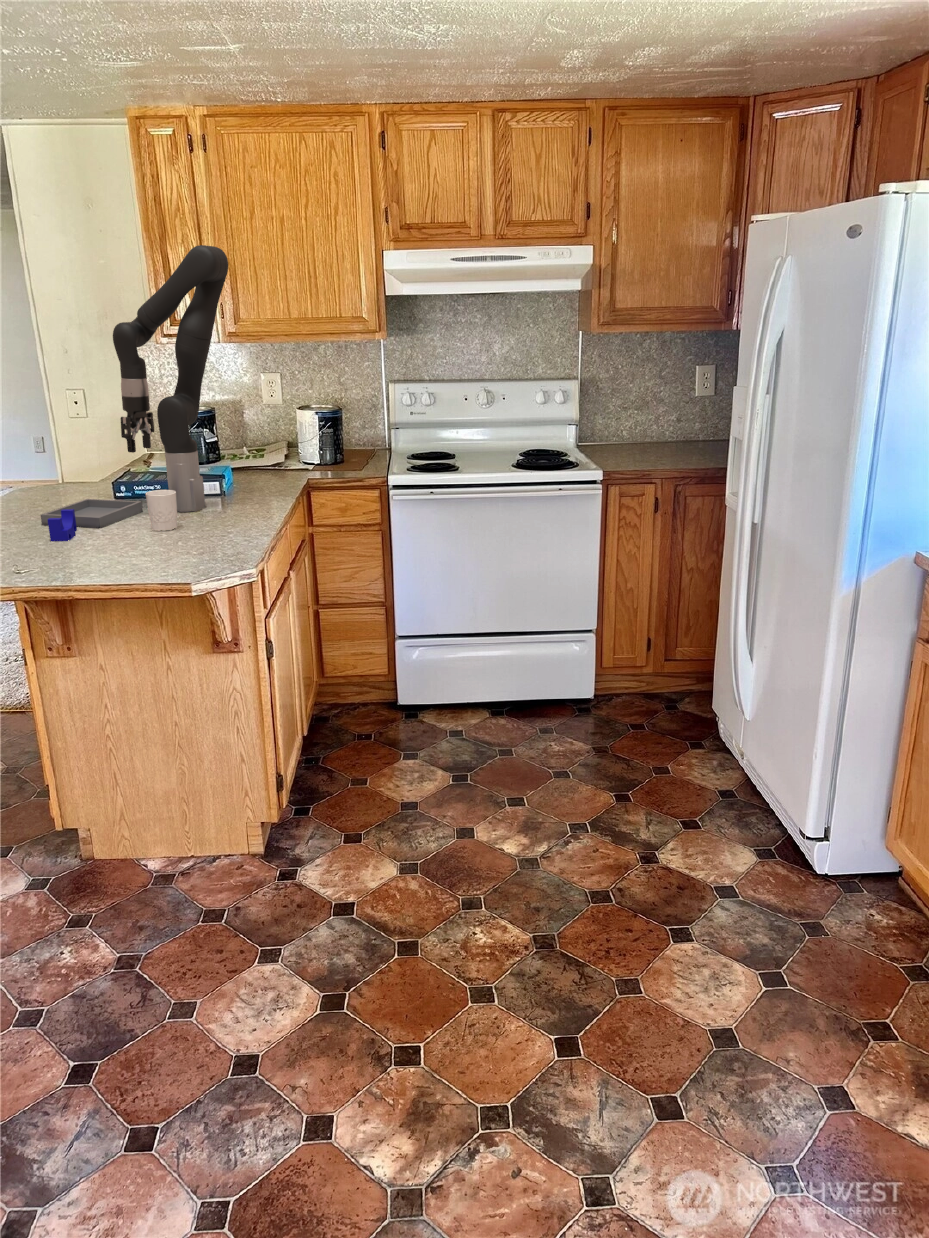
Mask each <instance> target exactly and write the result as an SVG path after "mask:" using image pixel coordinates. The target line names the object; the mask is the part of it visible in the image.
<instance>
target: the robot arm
mask: <svg viewBox="0 0 929 1238" xmlns="http://www.w3.org/2000/svg"><path fill="white" fill-rule="evenodd" d="M228 272H229V260H228V256H227V254H226V253H225V252H224V250H223V249H222V248H220V247H217V246H212V245H206V244H205V245H202V244H201V245H200V244H199V245H195V246H194V247H192V248H191V249H189V251H188V253H187V254H186V255H185V257H183V259H182V260H181V262H180V263H179V265H178V266H177V267H176V269H175V270H174V272H172V273H171V275H170V277H169V278H168V279H166V281H165V282H164V283H163V284H162V286H161V287H159V289H157V290H156V292H155V293H153V294H152V295H151V296H150V297H149V298H148V299H147V300H146V301H145V302H144V303H143V304H142V305H141V306H140V307H138V310H137V312H136V317H135V318H134V319H133V320H132V321H127V322H126V321H123V322H119V323H117V324H116V325H115V326H114V328H113V331H112V342H113V347H114V349H115V350H114V351H115V352H116V357H117V359H118V362H119V367H120V370H119V371H120V379H121V380H120V391H121V392H120V393H121V402H122V403H121V404H122V410H123V412H126V416H120V433H121V438H122V439H125V440H126V445H127V446H126V447H127V452H128V453H133V454H135V453H136V451H137V448H136V435H137V434H138V433H139V431H140V432H141V434H142V436H141V437H142V447H143V448H144V449H151V447H152V445H151V444H152V442H151V436H152V433H155V423H154V414H153V412H152V411H151V412H150V410H151V407H150V406H151V405H150V393H149V391H150V389H149V383H148V379H147V366H146V361H145V359H144V358H143V357H141V356H140V355H139V351H138V348H141V347H143V346H144V345H146V344H147V343H148V342H150V340H151V339H152V338H153V336H154V335H155V334H156V332H157V330H158V328H159V327H161V326H162V325H163V324H164V323H165V322H167V320H168V319H169V318H171V316H172V315H174V313H175V312H176V311H177V309H179V307H180V305H181V303H182V301H183V300H184V298H185V297H186V295H188V293H190V291H191V290H193V289H194V288H195V289H194V293H193V296H192V298H191V300H190V302H189V304H188V306H187V308H186V310H185V312H183V315H182V317H181V318H180V321H179V325H178V328H177V332H176V333H177V334H176V338H175V345H174V353H175V361H176V365H177V380H176V381H177V382H176V386H175V389H174V392H173V395H170V396H166V397H164V398H162V399H161V400H160V401H159V403H158V406H157V408H156V409H157V410H156V411H157V413H156V414H157V423H158V430H159V437H160V441H161V444H162V445H163V447H164V457H165V458H164V459H165V467H166V468H165V469H166V478H167V485H168V487H167V488H168V490H173V491H176V501H177V513H178V512H179V513H181V512H182V513H187V512H198V511H200V510H203V509H205V508H206V501H205V489H204V478H203V476H202V475H201V473H200V466H199V465H200V464H199V453H198V443H197V441H196V440H195V439H192V437H191V434H190V429H189V428H190V426H191V425H193V424H194V423H195V422H196V421H197V419H198V416H199V411H200V404H201V403H200V402H201V395H202V393H201V392H202V385H203V384H202V383H203V378H204V375H205V369H206V365H207V360H208V356H209V352H210V347H211V342H212V339H213V338H212V336H213V332H214V326H215V323H216V322H215V321H216V316H217V310H218V305H219V301H220V297H221V295H222V291H223V288H224V285H225V282H226V279H227V275H228Z"/></svg>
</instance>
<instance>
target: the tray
mask: <svg viewBox="0 0 929 1238" xmlns="http://www.w3.org/2000/svg"><path fill="white" fill-rule="evenodd" d="M63 509H74V512H75V519H76V527H77V528H83V529H84V528H86V529H99V528H101V529H103V528H105V527H108V526H110V524H111V525H113V524H115V522H116V523H118V522H120V521H123V520H125V519H127V518H130V517H133V516H135V515H138V514H140V513H142V512H144V509H143V501H137V500H135V501H134V500H119V499H101V498H100V499H97V498H86V499H83V500H79V501H76V502H74V503H71V504H68V505H65V506H62V507H58V508H56V509H54V510H50V511H46V512H44V513H42V514H40V520H41V526H48V519H49V518H61V510H63ZM117 521H118V522H117ZM112 523H113V524H112ZM48 527H49V526H48Z"/></svg>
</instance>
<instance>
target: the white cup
mask: <svg viewBox="0 0 929 1238" xmlns="http://www.w3.org/2000/svg"><path fill="white" fill-rule="evenodd" d="M145 498H146V499H145V500H146V505H147V511H148V516H149V521H150V526H151V530H152V529H153V530H152V531H154V530H158V531H157V532H161V531H160V530H170V531H172V530H171V529H174V528H176V529H177V528H178V512H177V501H176V491H173V490H169V489H155V490H150V491H147V492H145ZM174 530H175V529H174Z"/></svg>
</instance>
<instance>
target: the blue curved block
mask: <svg viewBox="0 0 929 1238" xmlns="http://www.w3.org/2000/svg"><path fill="white" fill-rule="evenodd" d="M48 531H49V539H50V542H51V541H52V542H69V541H71V540H72V539H73V538H75V537H76V532H77V531H78V527H76V519H75V512H74V509H63V510H61V518H49V519H48ZM74 536H75V537H74ZM68 540H69V541H68Z"/></svg>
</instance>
